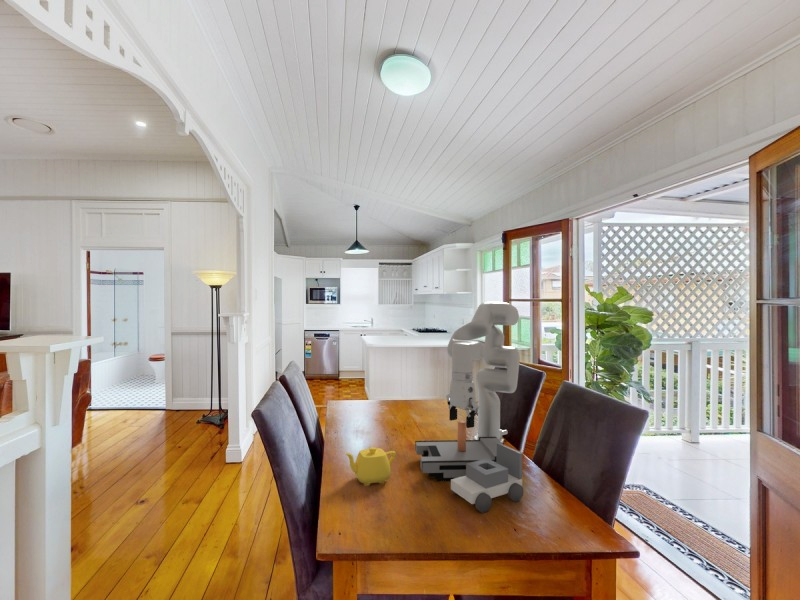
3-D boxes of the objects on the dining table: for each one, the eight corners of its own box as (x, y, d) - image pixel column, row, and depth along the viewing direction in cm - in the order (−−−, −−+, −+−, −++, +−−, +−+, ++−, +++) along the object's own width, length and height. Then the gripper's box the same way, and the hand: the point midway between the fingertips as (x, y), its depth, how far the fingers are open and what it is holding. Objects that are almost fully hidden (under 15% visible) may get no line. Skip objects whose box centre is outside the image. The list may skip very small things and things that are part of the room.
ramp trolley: (495, 481, 127) (496, 441, 128) (525, 498, 116) (526, 454, 116) (447, 495, 118) (448, 451, 118) (475, 515, 106) (476, 467, 106)
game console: (414, 458, 146) (415, 437, 146) (495, 457, 149) (495, 436, 149) (422, 484, 126) (422, 459, 126) (515, 482, 128) (516, 457, 128)
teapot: (347, 492, 119) (348, 457, 119) (340, 477, 129) (341, 445, 129) (401, 483, 125) (401, 451, 125) (390, 469, 135) (390, 439, 135)
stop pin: (462, 447, 139) (462, 420, 139) (467, 450, 137) (467, 422, 137) (455, 449, 138) (456, 421, 138) (460, 451, 135) (461, 423, 135)
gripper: (486, 379, 132) (485, 428, 132) (455, 371, 147) (455, 416, 147) (469, 381, 128) (468, 432, 128) (439, 373, 143) (439, 418, 143)
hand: (461, 423), depth 137 cm, fingers open, 9 cm apart
